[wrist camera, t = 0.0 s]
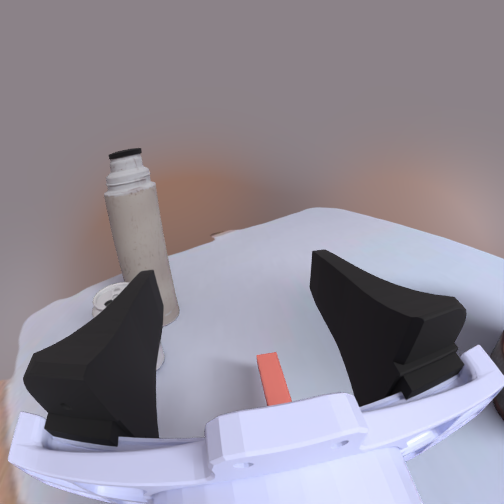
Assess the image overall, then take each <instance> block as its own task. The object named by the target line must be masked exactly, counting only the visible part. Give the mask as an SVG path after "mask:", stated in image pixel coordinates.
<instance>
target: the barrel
mask: <svg viewBox="0 0 504 504" xmlns="http://www.w3.org/2000/svg"><path fill="white" fill-rule="evenodd" d="M490 358H491V360H492V361H493V362H494V363H495V365H496V366H497V367H498V369H499V370H500V371H501V373H502V374H503V375H504V331H503V333H502V335H501V337H500V339H499V341H498V343H497V345H496V346H495V348H494V350H493V352H492V354H491V357H490ZM493 403H494V405H495V408H496V410H497V411H498V413H499V414H500V416H501V417H502V419H503V420H504V387H503V388H502V389H501V390H500V392H499V393H498V394H497V395H496V396H495V397H494V398H493Z"/></svg>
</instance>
